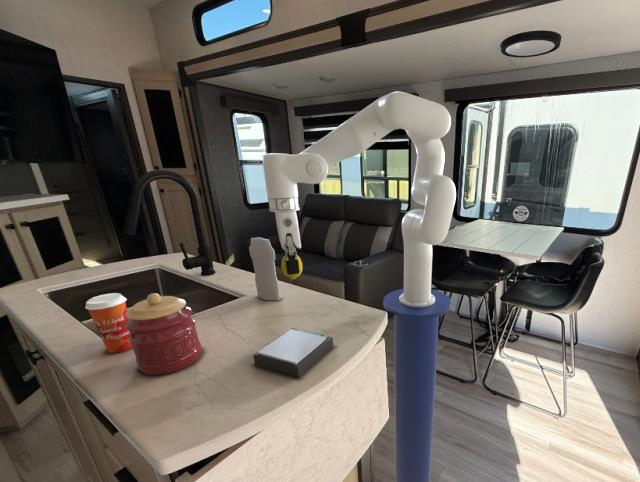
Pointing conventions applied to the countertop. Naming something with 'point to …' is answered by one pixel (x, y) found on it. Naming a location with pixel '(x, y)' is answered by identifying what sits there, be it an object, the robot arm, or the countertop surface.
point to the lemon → (286, 268)
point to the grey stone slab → (264, 269)
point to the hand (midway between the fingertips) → (292, 269)
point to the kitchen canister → (162, 334)
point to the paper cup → (110, 320)
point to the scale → (294, 352)
